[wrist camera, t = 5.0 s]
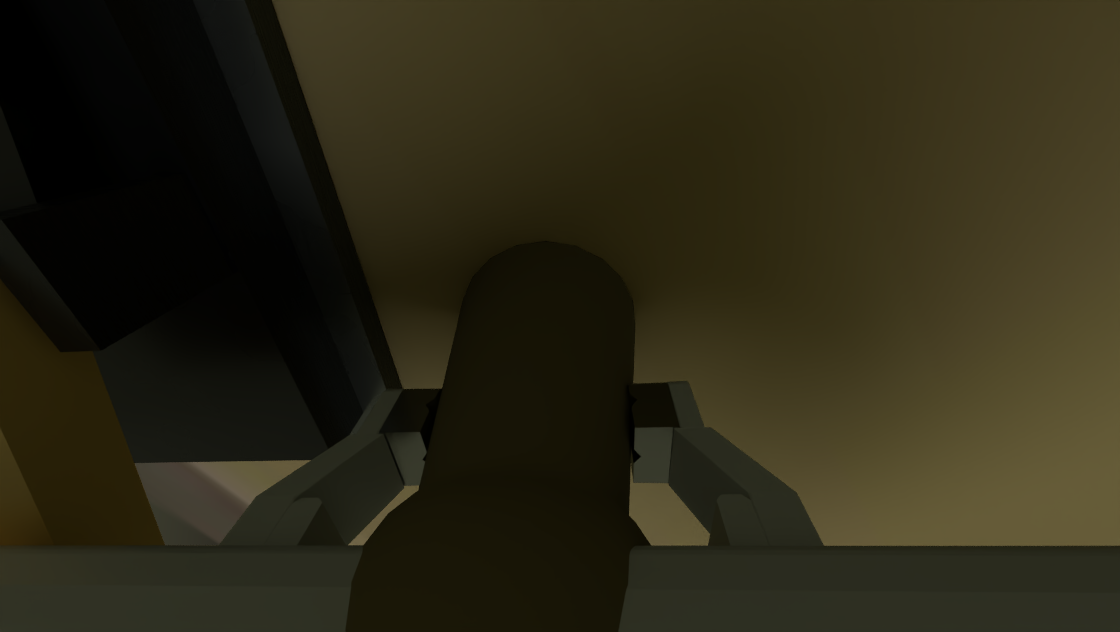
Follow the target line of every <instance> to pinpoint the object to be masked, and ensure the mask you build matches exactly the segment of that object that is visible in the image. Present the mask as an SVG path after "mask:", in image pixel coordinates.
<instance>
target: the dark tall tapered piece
mask: <svg viewBox="0 0 1120 632" xmlns="http://www.w3.org/2000/svg"><path fill="white" fill-rule="evenodd" d="M634 344H635V319H634V308H633V301H632V299H631V296H630V294H629V292H628V290H627V288H626V286H625V284H624V282H623V280H622V278H621V277H620V276H619V275H618V274H617V273H616V272H615V271H614V270H613V269H612V268H611V267H610V266H608V265H607V264H606V263H605V262H604V261H603V260H602V259H601V258H599V257H597V256H595V255H593V254H591V253H589V252H587V251H585V250H583V249H581V248H578V247H576V246H572V245H566V244H559V243H553V242H547V241H545V242H538V243H531V244H524V245H517V246H515V247H513V248H511V249H508V250H506V251H504V252H502V253H500V254H498V255H496V256H494V257H492V258H491V259H490V260H489V261H488V262H487V263H486V264H485V265H484V266H483V267H482V268H481V269H480V270H479V271H478V272H477V273H476V274H475V275H474V276H473V278H472V280H471V282H470V285H469V287H468V289H467V291H466V294H465V296H464V298H463V302H462V306H461V311H460V315H459V319H458V323H457V328H456V332H455V336H454V340H453V345H452V349H451V353H450V357H449V362H448V366H447V370H446V375H445V379H444V383H443V387H442V392H441V396H440V400H439V404H438V409H437V413H436V417H435V421H434V426H433V430H432V434H431V439H430V443H429V447H428V451H427V456H426V460H425V464H424V468H423V473H422V477H421V481H420V485H419V490H418V491H417V492H415V493H414V494H413V495H412V496H410V497H409V498H408V499H406V500H405V501H404V502H402V503H401V504H400V505H399V506H397V507H396V508H395V509H393V510H392V511H391V512H390V513H388V514H387V516H386V517H385V518H384V520H383V521H382V522H381V523H380V525H379V526H378V527H377V529H376V530H375V531H374V532H373V534H372V535H371V536H370V538H369V539H368V540H367V541H366V543H365V544H364V545H363V551H362V555H361V558H360V560H359V563H358V566H357V568H356V571H355V574H354V576H353V579H352V582H351V592H350V599H349V607H348V614H347V621H346V628H345V631H346V632H618V630H619V625H620V620H621V615H622V609H623V604H624V599H625V593H626V589H627V586H628V576H629V555H630V551H631V549H632V548H633V547H634V546H651V545H650V543H649V542H648V540H647V539H646V537H645V536H644V534H643V533H642V531H641V530H640V528H639V527H638V525H637V524H636V522H635V521H634V520H633V519H632V518H631V517H630V516H629V496H630V466H631V435H632V432H631V416H630V405H629V395H628V385H627V384H633V374H634Z"/></svg>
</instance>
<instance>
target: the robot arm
mask: <svg viewBox="0 0 1120 632" xmlns="http://www.w3.org/2000/svg"><path fill="white" fill-rule="evenodd" d="M627 385H628V395H629V405H630V416H631V432H632V435H631V468H632V475H633V483H669V486H670V487H671V488H672V489H673V490H674V492H675V493H676V494H677V495H678V496H679V498H680V499H681V500H682V501H683V502H684V503H685V505H686V506H687V507H688V508H689V509H690V511H691V512H692V513H693V514H694V515H695V517H696V518H697V519H698V520H699V521H700V522H701V524H702V525H703V526H704V527H705V528H706V530H707V531H708V532H709V533H710V538H709V543H708V546H634V547H633V548H632V549H631V551H630V555H629V576H628V586H627V589H626V593H625V599H624V604H623V609H622V615H621V620H620V625H619V630H618V632H1120V546H824V545H823V543H822V541H821V539H820V537H819V535H818V533H817V531H816V529H815V527H814V525H813V523H812V521H811V520H810V518H809V516H808V514H807V512H806V510H805V508H804V506H803V504H802V502H801V500H800V498H799V496H798V494H797V493H796V492H795V491H794V490H793V489H791V488H790V487H789V486H787V485H786V484H785V483H783V482H782V481H781V480H779V479H778V478H777V477H775V476H774V475H773V474H772V473H770V472H769V471H768V470H766V469H765V468H764V467H762V466H761V465H760V464H758V463H757V462H756V461H754V460H753V459H752V458H751V457H749V456H748V455H747V454H745V453H744V452H743V451H741V450H740V449H739V448H737V447H736V446H735V445H733V444H732V443H731V442H729V441H728V440H727V439H726V438H724V437H723V436H722V435H720V434H719V433H718V432H716V431H715V430H714V429H712V428H711V427H704V424H703V421H702V418H701V416H700V413H699V410H698V407H697V404H696V402H695V399H694V396H693V393H692V390H691V388H690V385H689V383H688V382H687V381H675V382H667V383H665V382H664V383H634V384H627ZM441 392H442V389H387V390H385V391H384V392H383V393H382V394H381V396H380V397H379V399H378V400H377V402H376V404H375V405H374V407H373V408H372V410H371V412H370V413H369V415H368V416H367V418H366V420H365V421H364V423H363V424H362V426H361V428H360V429H359V431H358V432H357V434H350V435H349V436H347V437H346V438H344V439H343V440H341V441H340V442H338V443H337V444H335V445H334V446H332V447H331V448H329V449H328V450H326V451H325V452H323V453H322V454H320V455H319V456H317V457H315V458H314V459H312V460H311V461H309V462H308V463H306V464H305V465H303V466H302V467H300V468H299V469H297V470H296V471H294V472H293V473H291V474H290V475H288V476H287V477H285V478H284V479H282V480H281V481H279V482H278V483H276V484H274V485H273V486H271V487H270V488H268V489H267V490H265V491H264V492H262V493H261V494H259V495H258V496H256V498H255V499H254V500H253V501H252V503H251V504H250V505H249V507H248V508H247V509H246V511H245V512H244V513H243V514H242V516H241V517H240V518H239V520H238V521H237V522H236V524H235V525H234V526H233V527H232V529H231V530H230V531H229V533H228V534H227V535H226V537H225V538H224V539H223V541H222V542H221V543H220V544H219V545H0V632H346V631H345V628H346V621H347V614H348V607H349V599H350V592H351V582H352V579H353V576H354V574H355V571H356V568H357V566H358V563H359V560H360V558H361V555H362V551H363V545H348V544H349V543H350V542H351V541H352V540H353V539H354V538H355V537H356V536H357V535H358V534H359V533H360V532H361V531H362V530H363V529H364V528H365V527H366V526H367V525H368V524H369V523H370V522H371V521H372V520H373V519H374V518H375V517H376V516H377V515H378V514H379V513H380V512H381V511H382V510H383V509H384V508H385V507H386V506H387V505H388V504H389V503H390V502H391V501H392V500H393V499H394V498H395V497H396V496H397V495H398V494H399V493H400V492H401V491H402V490H403V489H404V486H411V485H420V481H421V477H422V473H423V468H424V464H425V460H426V456H427V451H428V447H429V443H430V439H431V434H432V430H433V426H434V421H435V417H436V413H437V409H438V404H439V400H440V396H441Z"/></svg>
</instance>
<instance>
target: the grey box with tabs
mask: <svg viewBox="0 0 1120 632" xmlns="http://www.w3.org/2000/svg"><path fill="white" fill-rule="evenodd" d="M0 106H1V108H2V111H3V114H4V116H5V119H6V122H7V124H8V127H9V130H10V132H11V135H12V138H13V140H14V143H15V146H16V148H17V151H18V154H19V156H20V159H21V162H22V164H23V167H24V170H25V172H26V175H27V178H28V180H29V183H30V186H31V188H32V191H33V194H34V196H35V199H36V202H37V203H35V204H31V205H26V206H22V207H18V208H14V209H10V210H6V211H1V212H0V279H1V281H2V282H3V283H4V284H5V285H6V287H7V288H8V289H9V290H10V291H11V293H12V294H13V295H14V296H15V298H16V299H17V300H18V301H19V302H20V304H21V305H22V306H23V307H24V308H25V310H26V311H27V312H28V313H29V315H30V316H31V317H32V318H33V319H34V321H35V322H36V323H37V324H38V325H39V327H40V328H41V329H42V330H43V332H44V333H45V334H46V335H47V336H48V338H49V339H50V340H51V341H52V342H53V344H54V345H55V346H56V347H57V349H58V350H59V351H60V352H80V351H93V354H94V357H95V359H96V362H97V365H98V367H99V370H100V373H101V375H102V378H103V381H104V384H105V386H106V389H107V392H108V394H109V397H110V400H111V402H112V405H113V408H114V410H115V413H116V416H117V418H118V421H119V424H120V426H121V429H122V432H123V434H124V437H125V440H126V442H127V445H128V448H129V450H130V453H131V456H132V458H133V461H134V463H155V462H216V461H278V460H312V459H314V458H315V457H317V456H319V455H320V454H322V453H323V452H325V451H326V450H328V449H329V448H331V447H332V446H334V445H335V444H337V443H338V442H340V441H341V440H343V439H344V438H346V437H347V436H349V435H350V434H357V432H358V431H359V429H360V428H361V426H362V424H363V423H364V421H365V420H366V418H367V416H368V415H369V413H370V412H371V410H372V408H373V407H374V405H375V404H376V402H377V400H378V399H379V397H380V396H381V394H382V393H383V392H384V391H385V390H387V389H402V387H401V384H400V381H399V378H398V375H397V372H396V369H395V366H394V363H393V360H392V357H391V354H390V351H389V348H388V345H387V342H386V340H385V337H384V334H383V331H382V328H381V325H380V322H379V319H378V316H377V313H376V310H375V307H374V304H373V301H372V298H371V295H370V292H369V289H368V286H367V283H366V280H365V277H364V274H363V272H362V269H361V266H360V263H359V260H358V257H357V254H356V251H355V248H354V245H353V242H352V239H351V236H350V233H349V230H348V227H347V224H346V221H345V218H344V215H343V212H342V209H341V206H340V204H339V201H338V198H337V195H336V192H335V189H334V186H333V183H332V180H331V177H330V174H329V171H328V168H327V165H326V162H325V159H324V156H323V153H322V150H321V147H320V144H319V141H318V138H317V136H316V133H315V130H314V127H313V124H312V121H311V118H310V115H309V112H308V109H307V106H306V103H305V100H304V97H303V94H302V91H301V88H300V85H299V82H298V79H297V76H296V73H295V70H294V68H293V65H292V62H291V59H290V56H289V53H288V50H287V47H286V44H285V41H284V38H283V35H282V32H281V29H280V26H279V23H278V20H277V17H276V14H275V11H274V8H273V5H272V2H271V0H0Z"/></svg>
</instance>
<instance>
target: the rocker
mask: <svg viewBox="0 0 1120 632" xmlns="http://www.w3.org/2000/svg"><path fill="white" fill-rule="evenodd" d="M35 203H37V202H36V199H35V196H34V194H33V191H32V188H31V186H30V183H29V180H28V178H27V175H26V172H25V170H24V167H23V164H22V162H21V159H20V156H19V154H18V151H17V148H16V146H15V143H14V140H13V138H12V135H11V132H10V130H9V127H8V124H7V122H6V119H5V116H4V114H3V111H2V108H1V106H0V212H1V211H6V210H10V209H14V208H18V207H22V206H26V205H31V204H35ZM0 545H165V544H164V541H163V539H162V536H161V533H160V531H159V528H158V526H157V522H156V520H155V517H154V514H153V512H152V509H151V507H150V504H149V501H148V498H147V496H146V493H145V490H144V488H143V485H142V482H141V480H140V477H139V474H138V472H137V469H136V466H135V464H134V461H133V458H132V456H131V453H130V450H129V448H128V445H127V442H126V440H125V437H124V434H123V432H122V429H121V426H120V424H119V421H118V418H117V416H116V413H115V410H114V408H113V405H112V402H111V400H110V397H109V394H108V392H107V389H106V386H105V384H104V381H103V378H102V375H101V373H100V370H99V367H98V365H97V362H96V359H95V357H94V354H93V351H80V352H60V351H59V350H58V349H57V347H56V346H55V345H54V344H53V342H52V341H51V340H50V339H49V338H48V336H47V335H46V334H45V333H44V332H43V330H42V329H41V328H40V327H39V325H38V324H37V323H36V322H35V321H34V319H33V318H32V317H31V316H30V315H29V313H28V312H27V311H26V310H25V308H24V307H23V306H22V305H21V304H20V302H19V301H18V300H17V299H16V298H15V296H14V295H13V294H12V293H11V291H10V290H9V289H8V288H7V287H6V285H5V284H4V283H3V282H2V281H1V279H0Z"/></svg>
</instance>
